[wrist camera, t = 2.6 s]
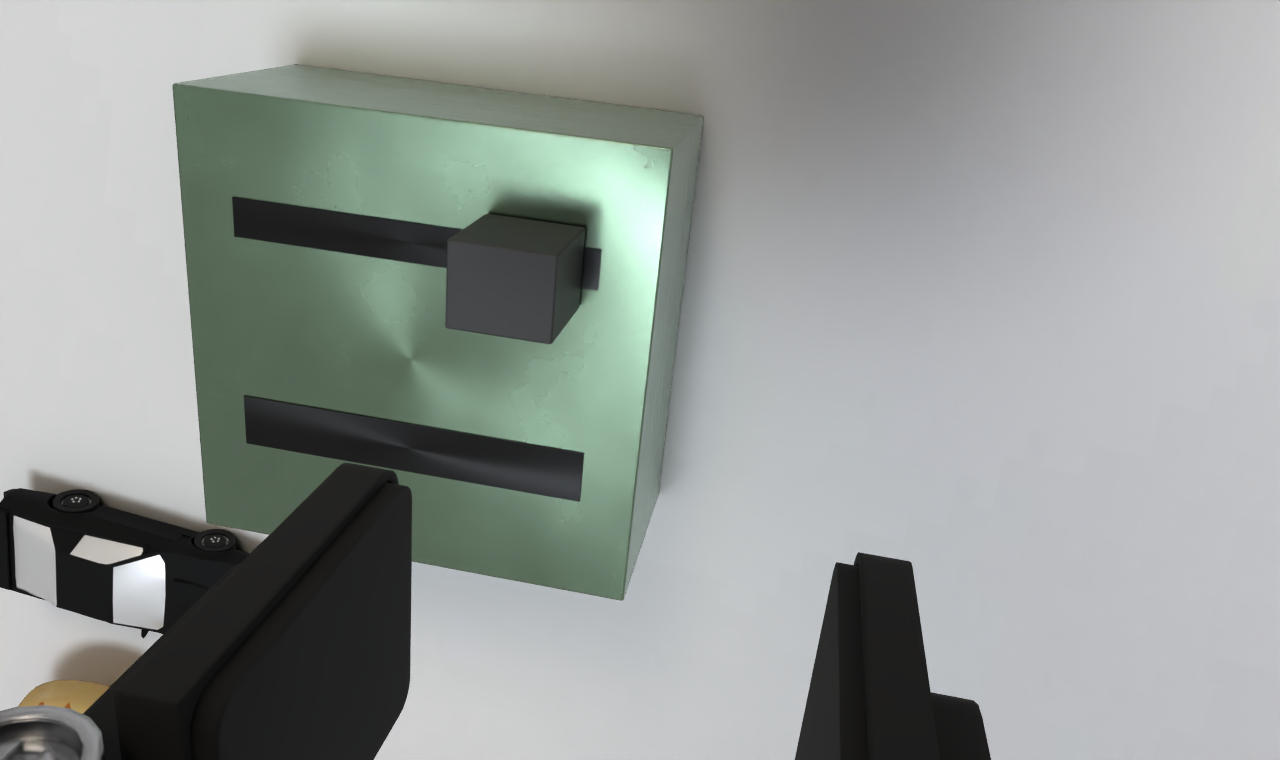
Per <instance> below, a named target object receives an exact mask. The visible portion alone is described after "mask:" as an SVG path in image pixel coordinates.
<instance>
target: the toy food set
mask: <svg viewBox="0 0 1280 760" xmlns="http://www.w3.org/2000/svg"><path fill="white" fill-rule="evenodd" d="M109 687H110V686H106V685H102V684H98V683H94V682H88V681H79V680H56V681H51V682H47V683H44V684H41V685H39V686H37V687H36V688H34V689H33V690H32V691H31V692H29V694H28V695H27V696H26V697H25V698H24V699H23V701H22V702H21V703H20V704H19V706H18V707H25V706H39V705H49V706H56V707H63V708H70V709H73V710H75V711H77V712H79V713H81V714H83V713H84V712H85V711H86V710H87V709H88V708H89V707H90V706H91V705H92V704H93V703H94V702H95V701H96V700H97V699H98V698H99V697H100V696H101V695H102V694H103V693H104V692H105V691H106V690H107V689H108V688H109Z"/></svg>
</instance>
